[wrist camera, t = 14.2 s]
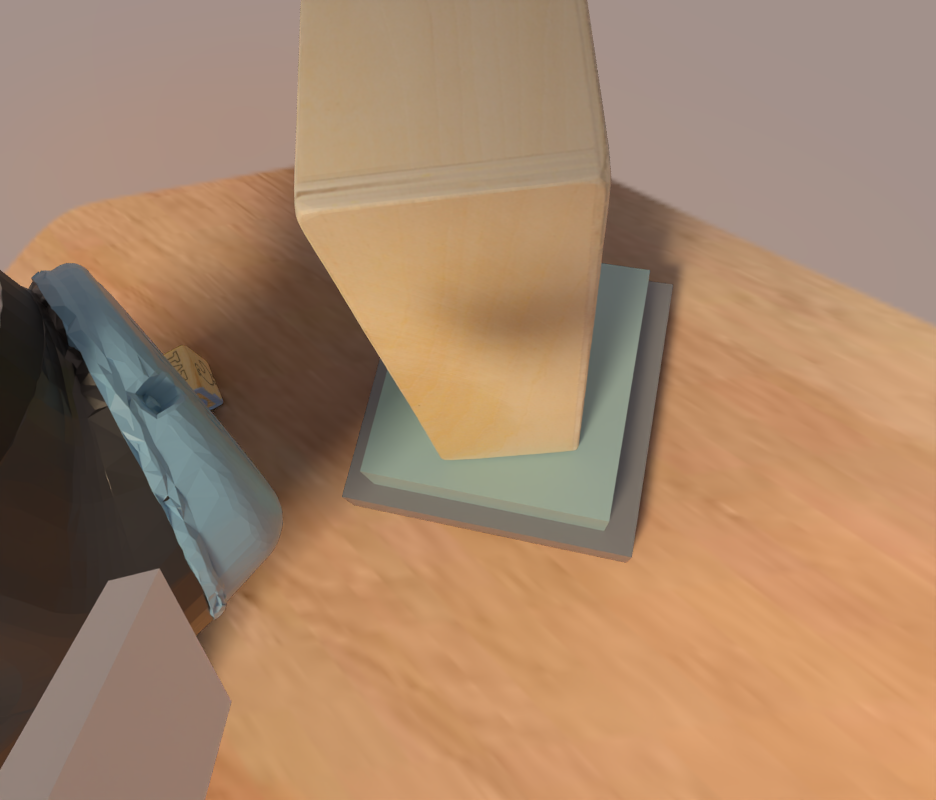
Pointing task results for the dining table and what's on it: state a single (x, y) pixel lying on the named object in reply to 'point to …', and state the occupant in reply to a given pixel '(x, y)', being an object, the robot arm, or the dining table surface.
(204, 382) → the alphabet block
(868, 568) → the dining table surface
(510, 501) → the brick stand
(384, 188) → the toy refrigerator
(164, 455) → the robot arm
